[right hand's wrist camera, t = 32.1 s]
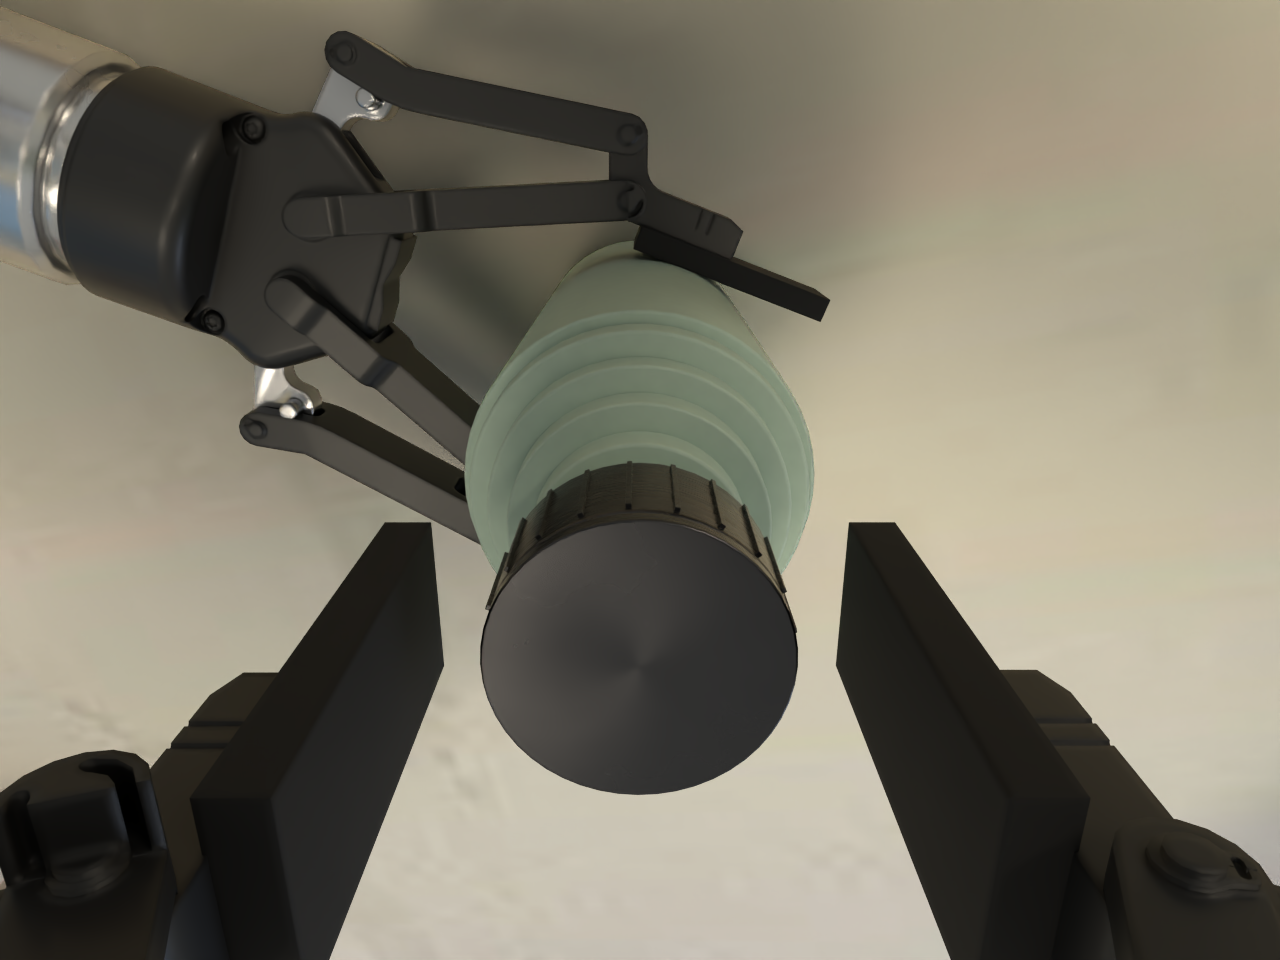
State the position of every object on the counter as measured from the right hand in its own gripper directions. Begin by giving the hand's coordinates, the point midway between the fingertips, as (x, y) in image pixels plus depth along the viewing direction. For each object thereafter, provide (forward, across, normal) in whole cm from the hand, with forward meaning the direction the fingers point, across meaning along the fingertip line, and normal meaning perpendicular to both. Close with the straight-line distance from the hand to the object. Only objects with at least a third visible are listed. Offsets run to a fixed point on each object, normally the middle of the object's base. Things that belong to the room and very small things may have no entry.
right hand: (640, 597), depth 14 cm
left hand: (+17, -4, +2) cm, 17 cm away
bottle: (+23, 0, 0) cm, 23 cm away
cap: (-2, 0, 0) cm, 2 cm away
